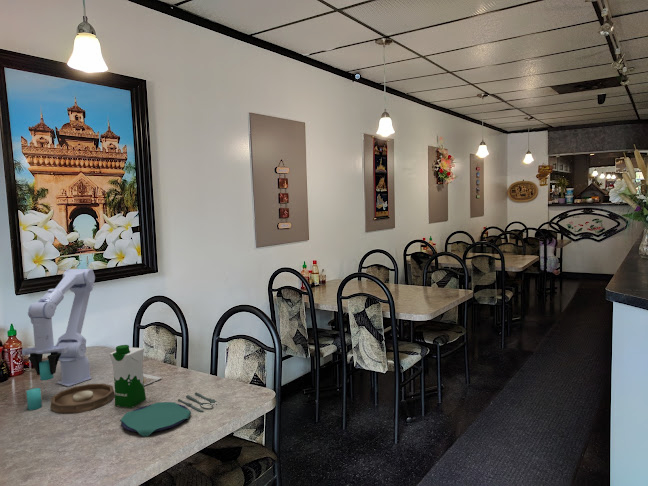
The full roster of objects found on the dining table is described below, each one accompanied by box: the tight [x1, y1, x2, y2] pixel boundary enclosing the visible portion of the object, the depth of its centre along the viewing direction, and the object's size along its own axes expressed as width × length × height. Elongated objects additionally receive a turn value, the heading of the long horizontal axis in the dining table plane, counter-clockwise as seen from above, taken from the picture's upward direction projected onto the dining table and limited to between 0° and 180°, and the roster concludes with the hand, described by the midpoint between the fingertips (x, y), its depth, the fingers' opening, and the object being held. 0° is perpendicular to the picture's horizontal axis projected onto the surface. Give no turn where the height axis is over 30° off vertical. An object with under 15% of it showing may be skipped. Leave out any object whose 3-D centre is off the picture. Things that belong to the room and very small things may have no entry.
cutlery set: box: [119, 391, 218, 437], centre depth 150 cm, size 20×30×2 cm, turn 138°
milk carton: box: [109, 344, 147, 409], centre depth 160 cm, size 9×9×20 cm
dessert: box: [143, 373, 162, 387], centre depth 180 cm, size 12×12×5 cm
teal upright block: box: [39, 359, 54, 381], centre depth 168 cm, size 4×4×6 cm
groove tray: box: [50, 383, 115, 415], centre depth 163 cm, size 20×20×2 cm
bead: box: [25, 387, 43, 411], centre depth 159 cm, size 4×4×6 cm
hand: (46, 373), depth 168 cm, fingers closed on teal upright block, 4 cm apart
